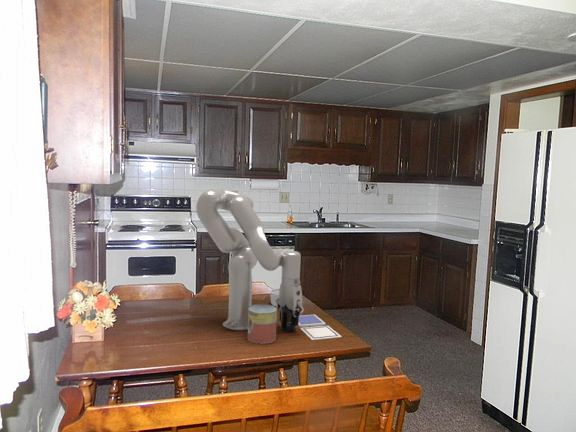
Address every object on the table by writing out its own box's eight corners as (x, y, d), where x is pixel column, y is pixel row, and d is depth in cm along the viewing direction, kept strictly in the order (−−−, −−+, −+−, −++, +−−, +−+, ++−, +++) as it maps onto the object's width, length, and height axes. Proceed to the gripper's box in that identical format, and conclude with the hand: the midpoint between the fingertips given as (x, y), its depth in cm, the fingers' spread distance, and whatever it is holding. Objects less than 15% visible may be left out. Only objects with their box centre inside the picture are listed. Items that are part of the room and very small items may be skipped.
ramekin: (266, 301, 219) (267, 288, 218) (291, 300, 223) (291, 287, 222) (273, 309, 206) (274, 295, 205) (299, 308, 210) (300, 294, 209)
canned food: (244, 334, 174) (245, 305, 172) (270, 331, 178) (271, 303, 176) (251, 345, 163) (252, 314, 162) (279, 342, 167) (281, 312, 166)
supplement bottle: (290, 334, 175) (291, 305, 174) (276, 330, 179) (278, 302, 178) (299, 330, 181) (301, 302, 179) (286, 326, 185) (288, 298, 184)
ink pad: (325, 325, 188) (325, 322, 188) (299, 327, 184) (300, 325, 184) (314, 316, 199) (314, 314, 199) (290, 318, 195) (290, 315, 195)
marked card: (341, 337, 175) (341, 336, 174) (312, 340, 170) (312, 339, 170) (328, 326, 187) (328, 325, 187) (300, 328, 182) (300, 327, 182)
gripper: (312, 284, 174) (310, 327, 176) (282, 275, 187) (281, 315, 189) (298, 287, 169) (296, 331, 171) (269, 278, 182) (268, 319, 183)
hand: (288, 322), depth 180 cm, fingers closed on supplement bottle, 6 cm apart
